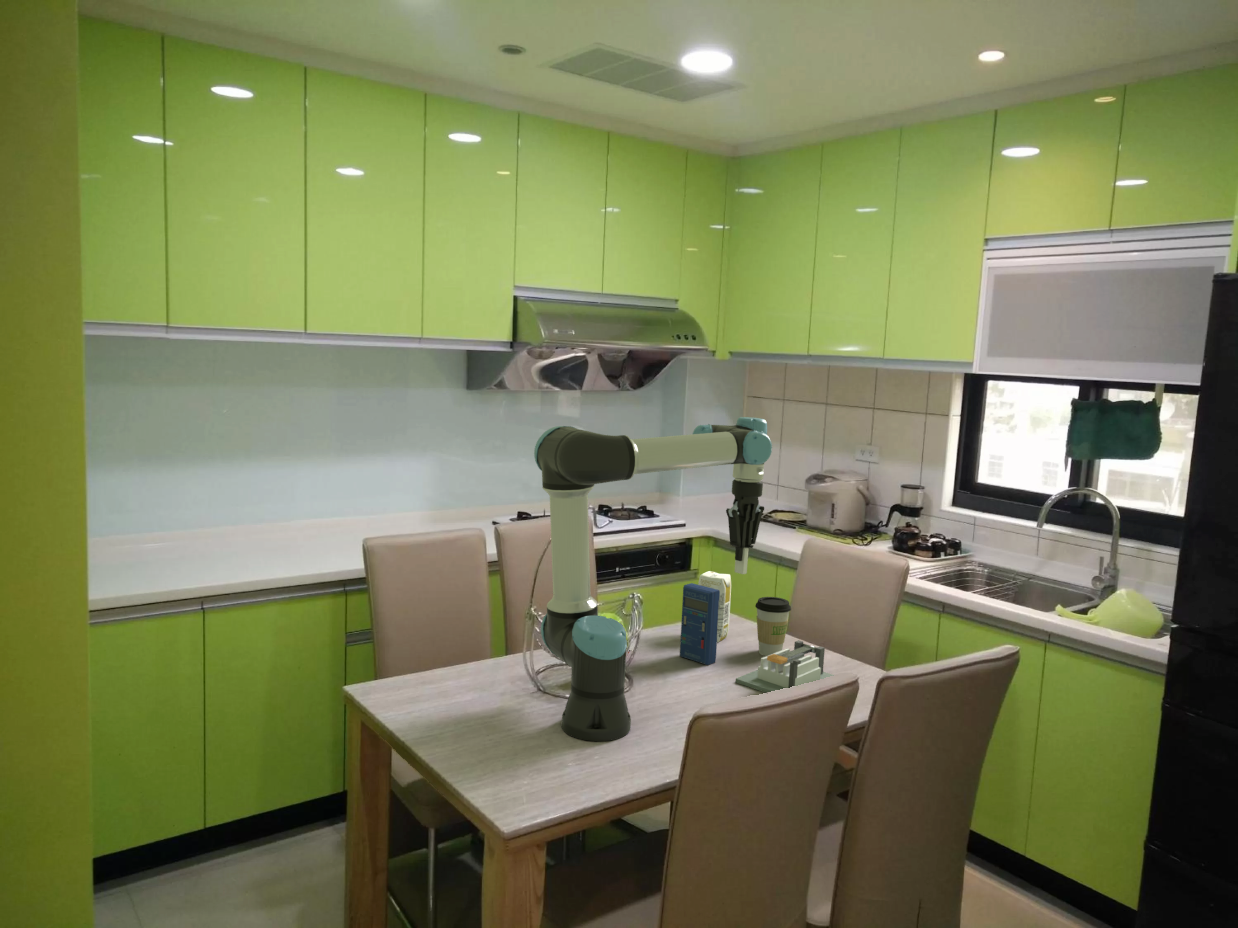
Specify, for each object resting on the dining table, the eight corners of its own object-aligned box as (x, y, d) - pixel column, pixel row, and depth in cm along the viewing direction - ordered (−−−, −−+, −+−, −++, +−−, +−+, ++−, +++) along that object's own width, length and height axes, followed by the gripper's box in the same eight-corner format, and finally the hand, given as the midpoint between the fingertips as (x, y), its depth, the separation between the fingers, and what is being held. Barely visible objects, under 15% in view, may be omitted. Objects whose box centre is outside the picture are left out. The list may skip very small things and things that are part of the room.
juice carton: (719, 643, 257) (723, 579, 254) (692, 638, 261) (696, 574, 259) (730, 637, 263) (734, 574, 261) (703, 631, 267) (707, 569, 265)
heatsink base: (796, 703, 215) (798, 668, 214) (735, 682, 227) (737, 648, 226) (843, 681, 231) (845, 648, 230) (783, 662, 243) (785, 631, 242)
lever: (780, 666, 221) (780, 660, 221) (766, 662, 224) (767, 656, 223) (817, 652, 233) (817, 646, 233) (804, 648, 236) (804, 642, 236)
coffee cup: (790, 659, 246) (794, 606, 244) (755, 658, 246) (758, 605, 244) (784, 648, 255) (788, 596, 254) (750, 646, 256) (753, 595, 254)
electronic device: (677, 657, 244) (681, 585, 242) (689, 652, 248) (693, 582, 245) (706, 666, 238) (710, 592, 235) (717, 661, 242) (721, 589, 239)
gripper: (744, 483, 215) (736, 579, 218) (775, 480, 225) (768, 572, 227) (719, 479, 221) (712, 572, 223) (751, 476, 230) (744, 566, 232)
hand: (740, 572), depth 225 cm, fingers closed
